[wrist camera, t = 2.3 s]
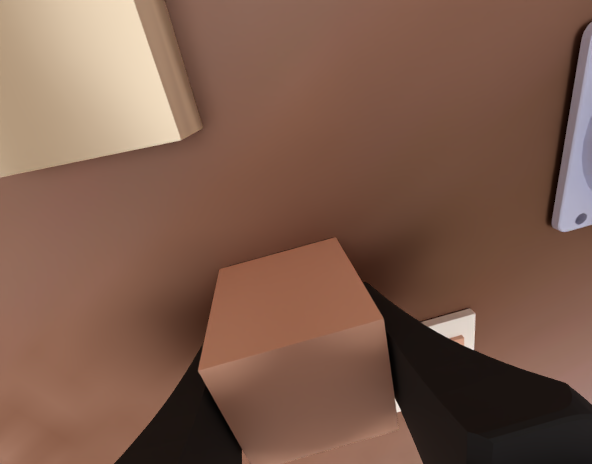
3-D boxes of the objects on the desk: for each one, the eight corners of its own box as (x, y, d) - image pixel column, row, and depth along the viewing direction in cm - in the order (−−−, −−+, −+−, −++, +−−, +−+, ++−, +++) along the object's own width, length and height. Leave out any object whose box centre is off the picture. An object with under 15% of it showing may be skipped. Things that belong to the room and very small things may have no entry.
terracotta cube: (335, 237, 12) (383, 318, 8) (353, 325, 14) (399, 429, 10) (219, 269, 12) (197, 370, 7) (254, 353, 14) (254, 471, 10)
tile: (470, 308, 15) (478, 316, 14) (467, 384, 17) (474, 394, 17) (375, 334, 15) (380, 343, 14) (387, 407, 17) (391, 417, 17)
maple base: (130, -117, 7) (39, -277, 4) (204, 127, 10) (181, 140, 7) (-112, -76, 7) (-400, -214, 4) (27, 163, 10) (-82, 194, 7)
